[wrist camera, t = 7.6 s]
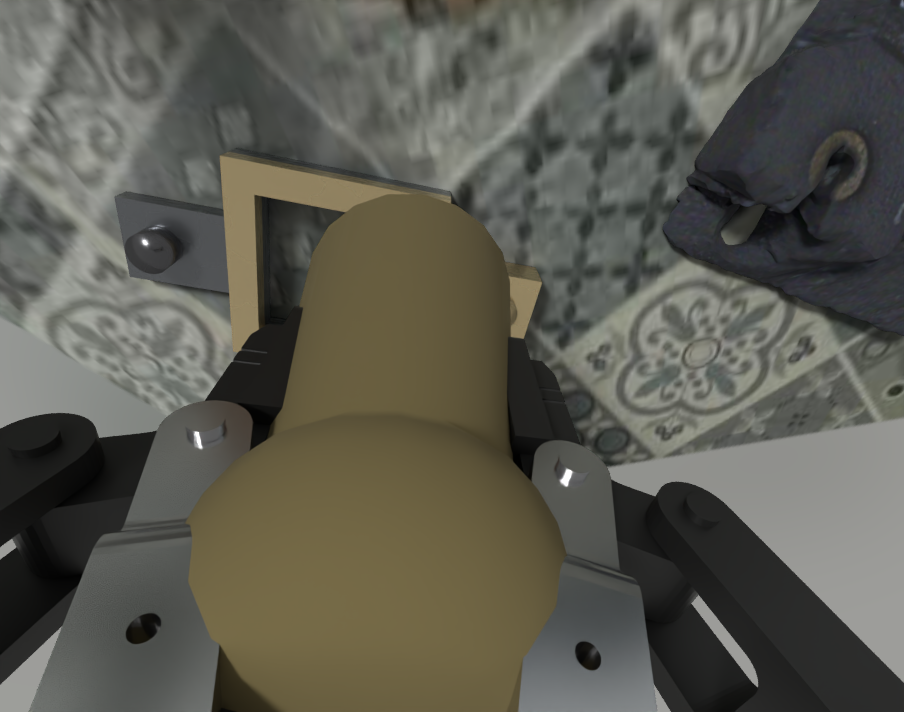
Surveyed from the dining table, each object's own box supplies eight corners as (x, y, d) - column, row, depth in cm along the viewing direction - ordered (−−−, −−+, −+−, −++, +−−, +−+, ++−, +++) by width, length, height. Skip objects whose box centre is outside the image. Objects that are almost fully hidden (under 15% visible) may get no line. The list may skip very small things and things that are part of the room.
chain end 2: (237, 148, 26) (216, 156, 24) (552, 212, 28) (563, 226, 26) (246, 333, 32) (231, 354, 30) (502, 372, 35) (506, 395, 32)
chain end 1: (114, 123, 25) (80, 129, 23) (450, 191, 27) (451, 203, 25) (149, 318, 32) (125, 339, 29) (418, 360, 34) (416, 382, 32)
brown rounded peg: (532, 212, 12) (810, 649, 3) (487, 387, 16) (559, 855, 6) (306, 175, 12) (-167, 596, 3) (308, 366, 15) (102, 857, 6)
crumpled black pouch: (862, 350, 35) (916, 387, 31) (637, 224, 29) (667, 249, 25) (1083, 159, 28) (1191, 175, 24) (840, -59, 22) (929, -85, 18)
